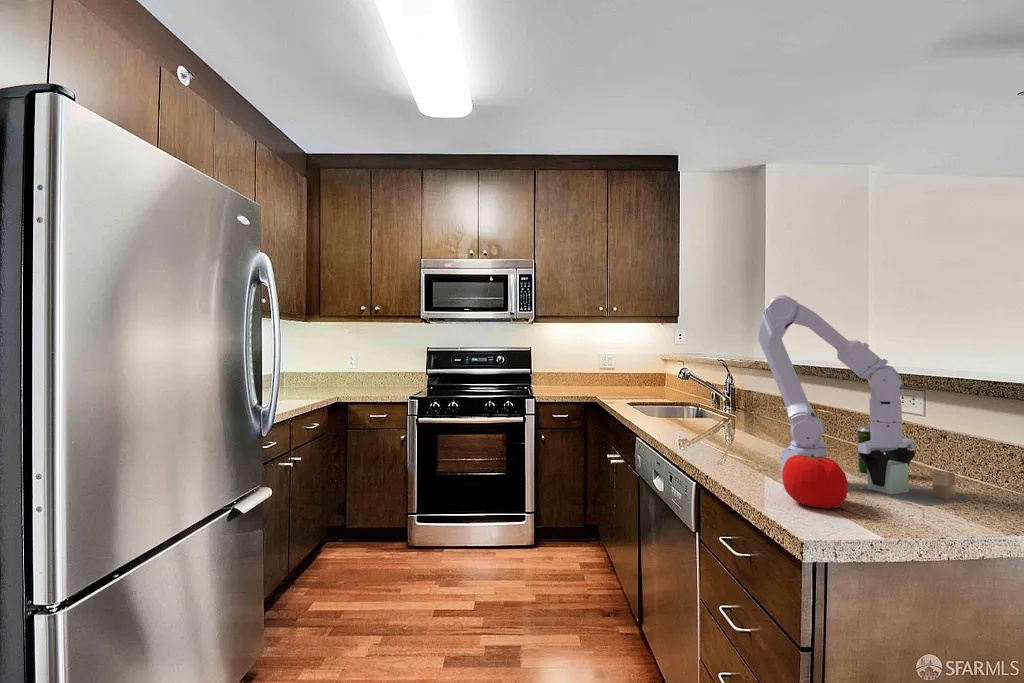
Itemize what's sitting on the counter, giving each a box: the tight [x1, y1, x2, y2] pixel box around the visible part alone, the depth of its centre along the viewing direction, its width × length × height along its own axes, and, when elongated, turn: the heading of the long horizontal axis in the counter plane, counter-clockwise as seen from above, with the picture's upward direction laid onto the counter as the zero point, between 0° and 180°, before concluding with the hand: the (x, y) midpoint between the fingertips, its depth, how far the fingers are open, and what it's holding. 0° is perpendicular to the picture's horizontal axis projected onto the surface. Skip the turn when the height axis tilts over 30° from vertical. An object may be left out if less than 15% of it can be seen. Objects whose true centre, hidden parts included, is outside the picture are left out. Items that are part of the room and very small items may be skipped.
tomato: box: [782, 454, 849, 510], centre depth 108 cm, size 11×13×10 cm
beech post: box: [931, 470, 956, 499], centre depth 110 cm, size 3×3×5 cm
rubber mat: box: [860, 483, 975, 507], centre depth 113 cm, size 14×14×1 cm
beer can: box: [856, 424, 885, 477], centre depth 131 cm, size 5×5×12 cm
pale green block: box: [867, 460, 910, 494], centre depth 116 cm, size 5×5×6 cm
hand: (887, 484), depth 116 cm, fingers closed on pale green block, 5 cm apart
